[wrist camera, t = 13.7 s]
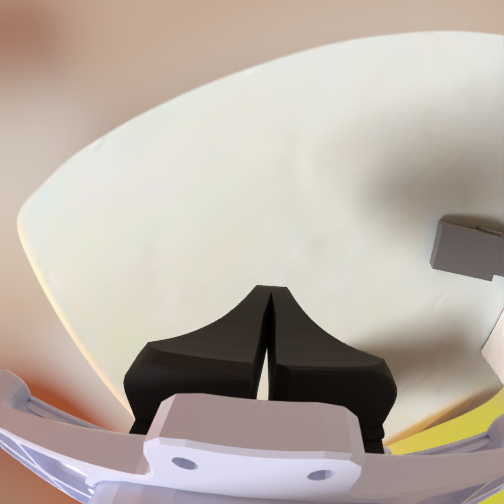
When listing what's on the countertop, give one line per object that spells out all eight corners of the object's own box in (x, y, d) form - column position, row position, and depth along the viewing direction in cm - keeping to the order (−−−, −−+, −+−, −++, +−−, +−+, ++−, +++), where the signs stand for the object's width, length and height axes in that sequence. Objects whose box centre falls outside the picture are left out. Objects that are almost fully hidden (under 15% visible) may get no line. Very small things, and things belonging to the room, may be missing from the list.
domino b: (468, 264, 20) (513, 274, 18) (473, 270, 19) (520, 280, 17) (477, 226, 19) (523, 238, 17) (483, 229, 17) (530, 242, 16)
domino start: (429, 262, 20) (486, 274, 18) (432, 268, 19) (491, 281, 17) (438, 220, 19) (496, 235, 17) (442, 224, 18) (503, 239, 16)
